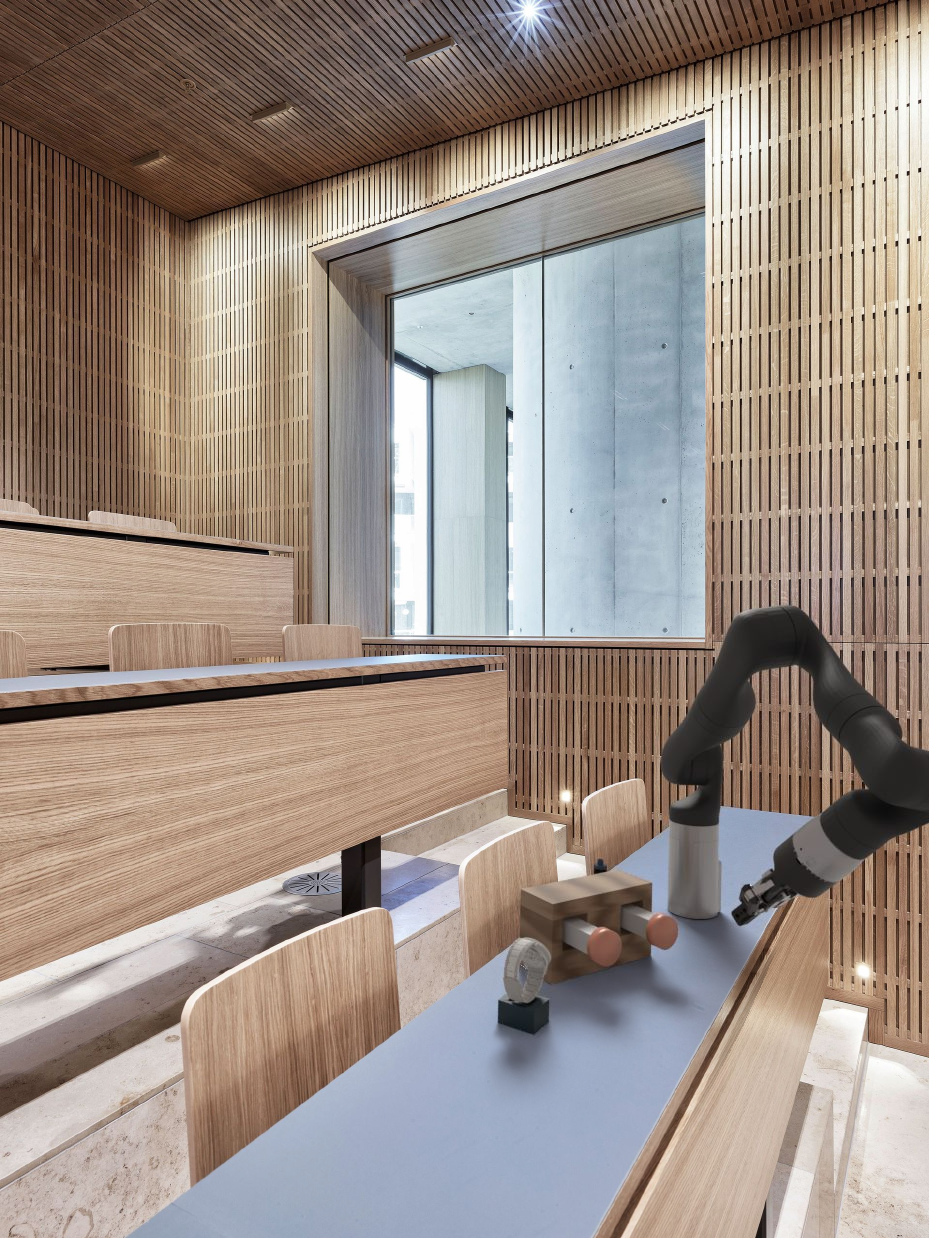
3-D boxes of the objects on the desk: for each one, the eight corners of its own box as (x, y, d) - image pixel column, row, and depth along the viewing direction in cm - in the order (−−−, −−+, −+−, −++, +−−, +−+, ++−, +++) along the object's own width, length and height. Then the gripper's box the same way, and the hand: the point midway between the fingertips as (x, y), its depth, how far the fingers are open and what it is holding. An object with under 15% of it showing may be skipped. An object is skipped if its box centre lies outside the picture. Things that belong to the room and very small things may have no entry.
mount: (616, 939, 137) (618, 869, 138) (651, 955, 131) (652, 882, 131) (519, 965, 126) (520, 888, 126) (551, 984, 119) (552, 904, 119)
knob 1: (574, 938, 126) (574, 906, 126) (621, 962, 117) (622, 928, 117) (549, 944, 123) (550, 912, 123) (595, 969, 114) (596, 934, 114)
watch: (555, 1016, 110) (557, 936, 110) (527, 1040, 103) (528, 955, 103) (520, 1004, 113) (521, 926, 113) (490, 1028, 106) (491, 945, 106)
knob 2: (629, 924, 132) (630, 894, 132) (678, 946, 123) (678, 914, 123) (607, 930, 129) (607, 899, 130) (655, 953, 121) (655, 919, 121)
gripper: (831, 822, 107) (752, 886, 117) (769, 834, 100) (691, 902, 110) (868, 872, 103) (783, 935, 113) (807, 889, 96) (721, 954, 106)
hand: (737, 919), depth 112 cm, fingers closed
